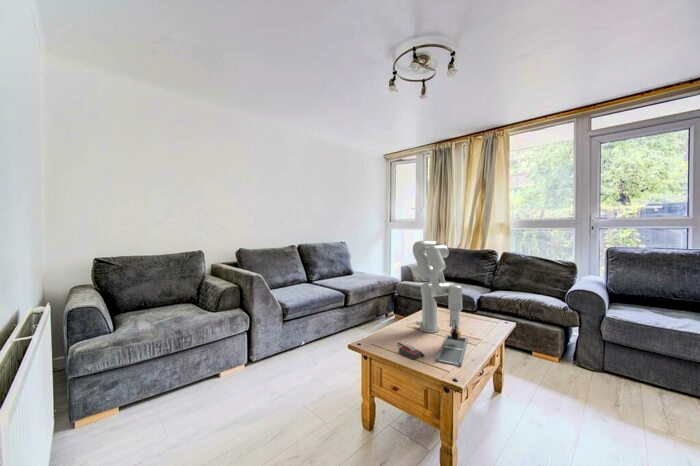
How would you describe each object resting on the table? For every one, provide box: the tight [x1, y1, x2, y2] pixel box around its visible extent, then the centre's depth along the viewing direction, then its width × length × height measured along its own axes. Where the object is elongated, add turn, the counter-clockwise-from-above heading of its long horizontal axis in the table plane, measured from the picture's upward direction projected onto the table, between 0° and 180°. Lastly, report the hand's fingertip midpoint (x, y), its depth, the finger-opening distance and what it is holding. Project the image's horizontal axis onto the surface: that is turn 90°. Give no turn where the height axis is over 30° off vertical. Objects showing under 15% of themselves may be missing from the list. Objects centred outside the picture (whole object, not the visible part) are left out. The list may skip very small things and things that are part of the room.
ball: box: [449, 328, 462, 338], centre depth 167 cm, size 6×6×6 cm
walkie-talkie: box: [396, 342, 425, 360], centre depth 159 cm, size 9×4×20 cm
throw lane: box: [435, 334, 468, 367], centre depth 160 cm, size 12×35×2 cm, turn 153°
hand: (455, 337), depth 167 cm, fingers closed on ball, 5 cm apart
